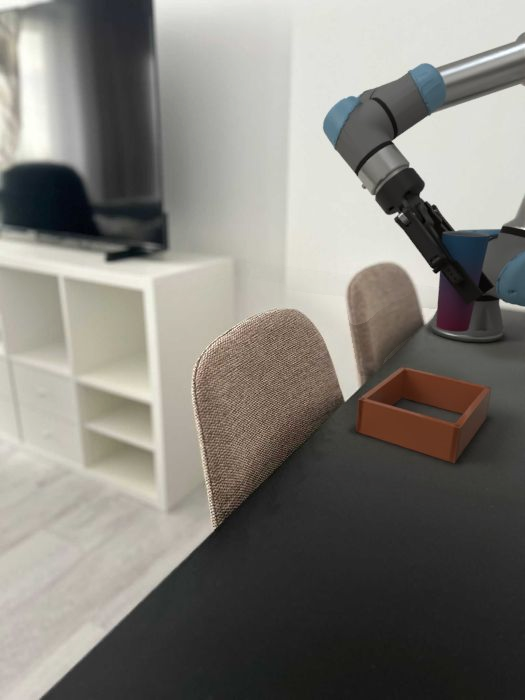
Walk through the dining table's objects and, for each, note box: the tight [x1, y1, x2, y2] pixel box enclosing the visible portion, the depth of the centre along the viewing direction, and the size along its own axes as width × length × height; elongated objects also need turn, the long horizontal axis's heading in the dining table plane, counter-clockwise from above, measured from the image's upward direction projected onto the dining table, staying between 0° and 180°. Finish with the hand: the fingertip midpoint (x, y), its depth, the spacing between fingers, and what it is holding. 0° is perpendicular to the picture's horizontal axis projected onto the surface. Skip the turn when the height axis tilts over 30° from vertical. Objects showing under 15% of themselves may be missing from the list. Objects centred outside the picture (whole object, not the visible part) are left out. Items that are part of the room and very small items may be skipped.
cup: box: [436, 230, 490, 332], centre depth 81 cm, size 7×7×15 cm
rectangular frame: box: [355, 366, 492, 464], centre depth 73 cm, size 16×14×5 cm
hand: (481, 295), depth 80 cm, fingers closed on cup, 6 cm apart
